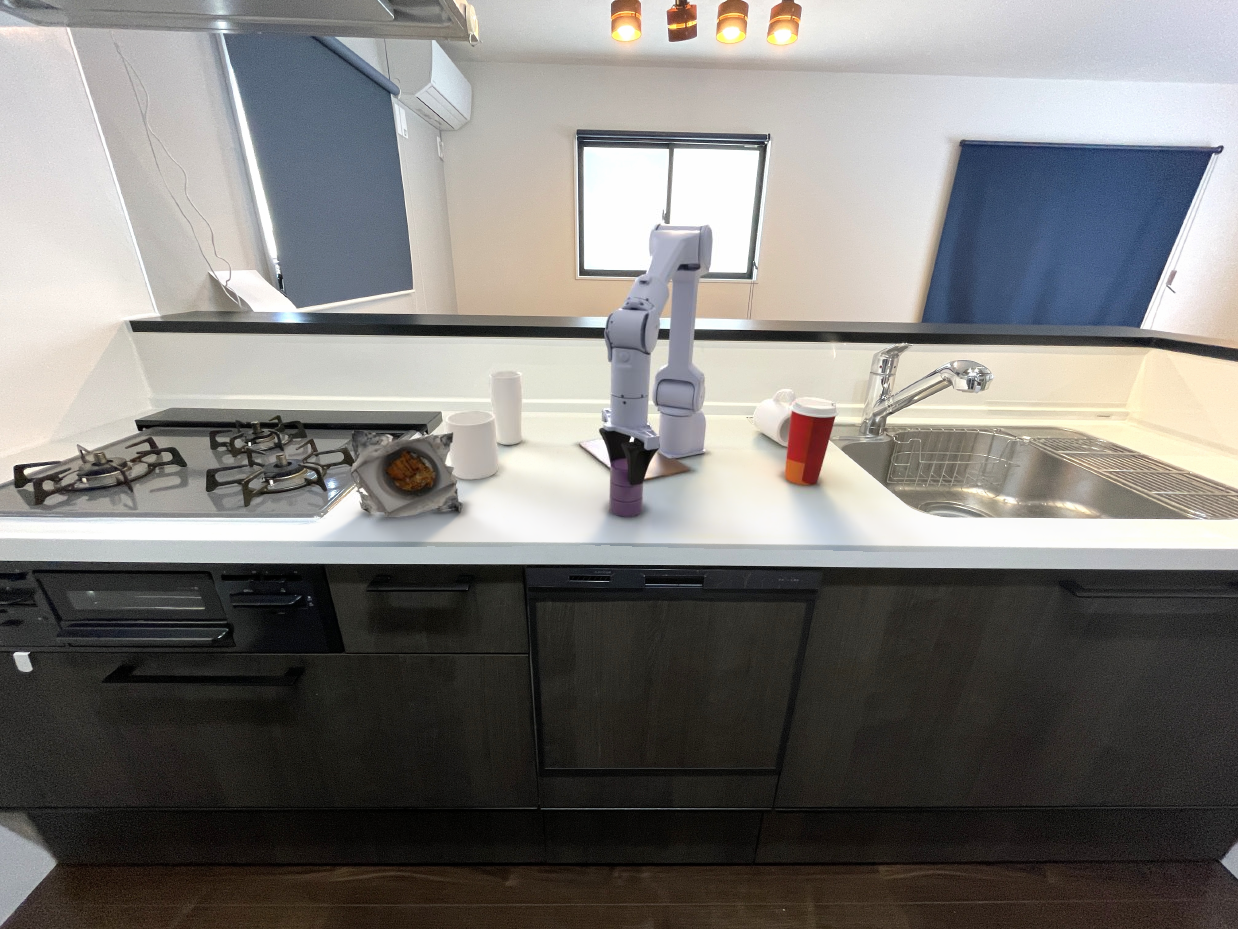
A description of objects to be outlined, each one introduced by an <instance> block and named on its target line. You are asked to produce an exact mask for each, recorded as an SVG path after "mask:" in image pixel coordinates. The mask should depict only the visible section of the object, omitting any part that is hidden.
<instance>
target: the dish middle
mask: <svg viewBox="0 0 1238 929" xmlns="http://www.w3.org/2000/svg"><path fill="white" fill-rule="evenodd" d="M610 496H611V497H612V498H613V499H615V500H618V501H622V502H632V501H636V500H639V499H640V498H642V496H643V497H644V483H643V484H640V485H637V486H631V487H624V486H619V485H616V484H614V483H612V482H611V480H610V479H609V497H610Z"/></svg>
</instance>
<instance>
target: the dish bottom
mask: <svg viewBox="0 0 1238 929" xmlns="http://www.w3.org/2000/svg"><path fill="white" fill-rule="evenodd" d="M643 497H644V495H643V496H642V498H640V499H639V500H636V501H632V502H622V501H618V500H615V499H613V498H612V497H611V496H610V495H609V503H608V504H609V505H608V507H609V509H608V510H609V511H610V513H612V514H613V515H615V516H618V517H623V518H631V517H635V516H639V514H641V513H642V511H643V500H644V499H643Z"/></svg>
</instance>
